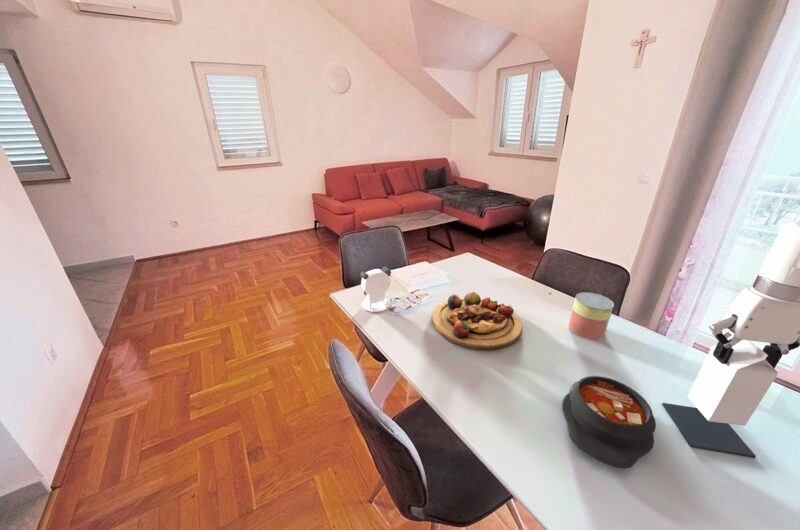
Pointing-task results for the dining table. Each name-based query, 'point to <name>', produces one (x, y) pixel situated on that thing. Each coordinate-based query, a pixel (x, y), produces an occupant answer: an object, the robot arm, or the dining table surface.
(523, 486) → the dining table surface
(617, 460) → the casserole
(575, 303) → the canned food
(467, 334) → the wooden plate
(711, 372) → the milk carton
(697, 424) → the mat
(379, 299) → the panda figurine
